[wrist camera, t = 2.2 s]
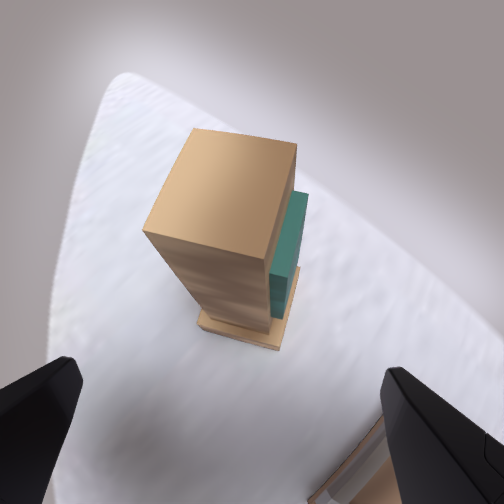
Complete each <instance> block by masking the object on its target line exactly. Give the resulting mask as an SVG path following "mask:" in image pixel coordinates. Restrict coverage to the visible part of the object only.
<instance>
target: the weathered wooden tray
mask: <svg viewBox="0 0 504 504" xmlns="http://www.w3.org/2000/svg"><path fill="white" fill-rule="evenodd" d="M308 504H402V502H401V498H400V493H399V489H398V485H397V480H396V476H395V472H394V468H393V464H392V460H391V456H390V452H389V448H388V444H387V438H386V431H385V424H384V417H383V415H382V416H381V418H380V419H379V420H378V422H377V423H376V424H375V425H374V427H373V428H372V429H371V431H370V432H369V433H368V434H367V436H366V437H365V438H364V439H363V441H362V442H361V443H360V444H359V445H358V447H357V448H356V449H355V450H354V451H353V453H352V454H351V455H350V456H349V457H348V458H347V460H346V461H345V462H344V463H343V464H342V465H341V466H340V467H339V469H338V470H337V471H336V472H335V473H334V474H333V475H332V476H331V477H330V478H329V479H328V480H327V482H326V483H325V484H324V485H323V486H322V487H321V488H320V489H319V490H318V491H317V492H316V493H315V494H314V495H313V496H312V497H311V498H310V499H309V500H308Z"/></svg>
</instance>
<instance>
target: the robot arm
mask: <svg viewBox="0 0 504 504" xmlns="http://www.w3.org/2000/svg"><path fill="white" fill-rule="evenodd" d="M82 386H83V378H82V375H81V373H80V370H79V368H78V366H77V363H76V361H75V360H74V358H71V357H66V356H61V357H59V358H58V359H56V360H54V361H52V362H50V363H48V364H46V365H45V366H43V367H41V368H39V369H37V370H35V371H34V372H32V373H30V374H28V375H26V376H24V377H22V378H20V379H19V380H17V381H15V382H13V383H11V384H9V385H7V386H6V387H4V388H2V389H0V504H42V502H43V498H44V495H45V492H46V489H47V486H48V484H49V481H50V478H51V475H52V472H53V469H54V467H55V464H56V461H57V459H58V456H59V453H60V451H61V448H62V445H63V443H64V440H65V438H66V435H67V433H68V430H69V428H70V425H71V422H72V419H73V415H74V412H75V408H76V405H77V402H78V398H79V395H80V392H81V389H82ZM380 398H381V404H382V411H383V417H384V424H385V431H386V438H387V444H388V448H389V452H390V456H391V460H392V464H393V468H394V472H395V476H396V480H397V485H398V489H399V493H400V498H401V502H402V504H504V445H503V444H501V443H500V442H498V441H497V440H496V439H494V438H493V437H492V436H491V435H489V434H488V433H486V432H485V431H484V430H483V429H481V428H480V427H479V426H477V425H476V424H475V423H474V422H472V421H471V420H470V419H468V418H467V417H466V416H465V415H463V414H462V413H461V412H459V411H458V410H457V409H456V408H454V407H453V406H452V405H450V404H449V403H448V402H447V401H445V400H444V399H443V398H441V397H440V396H439V395H437V394H436V393H435V392H434V391H432V390H431V389H430V388H428V387H427V386H426V385H425V384H423V383H422V382H421V381H419V380H418V379H417V378H416V377H414V376H413V375H412V374H410V373H409V372H408V371H406V370H405V369H404V368H402V367H392V368H388V369H387V370H386V372H385V376H384V379H383V383H382V386H381V390H380Z"/></svg>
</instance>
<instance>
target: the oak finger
mask: <svg viewBox="0 0 504 504" xmlns="http://www.w3.org/2000/svg"><path fill="white" fill-rule="evenodd" d="M296 151H297V144H295V143H290V142H284V141H279V140H272V139H267V138H261V137H255V136H249V135H242V134H235V133H228V132H221V131H213V130H205V129H196V128H193V130H192V132H191V133H190V135H189V137H188V139H187V141H186V143H185V144H184V146H183V148H182V150H181V152H180V154H179V156H178V157H177V159H176V161H175V163H174V165H173V167H172V169H171V171H170V173H169V175H168V177H167V179H166V181H165V183H164V185H163V187H162V189H161V191H160V193H159V195H158V197H157V199H156V201H155V203H154V205H153V207H152V209H151V212H150V214H149V216H148V218H147V220H146V222H145V224H144V227H143V229H142V231H143V232H144V233H145V235H146V236H147V237H148V239H149V240H150V242H151V243H152V244H153V246H154V247H155V248H156V250H157V251H158V252H159V254H160V255H161V256H162V258H163V259H164V260H165V262H166V263H167V264H168V265H169V267H170V268H171V269H172V271H173V272H174V273H175V275H176V276H177V277H178V278H179V280H180V281H181V282H182V284H183V285H184V286H185V287H186V289H187V290H188V291H189V292H190V294H191V295H192V296H193V298H194V299H195V300H196V301H197V303H198V304H199V305H200V306H201V308H202V309H201V312H200V315H199V318H198V321H197V325H199V326H200V327H201V328H202V329H203V330H205V331H208V332H212V333H215V334H218V335H222V336H225V337H229V338H232V339H236V340H239V341H243V342H247V343H250V344H254V345H258V346H261V347H265V348H269V349H273V350H277V351H279V349H280V346H281V342H282V338H283V335H284V331H285V327H286V323H287V320H288V316H289V312H290V308H291V304H292V301H293V297H294V293H295V289H296V285H297V281H298V276H299V271H300V267H298V266H297V263H298V258H299V252H300V246H301V240H302V234H303V227H304V221H305V215H306V208H307V202H308V195H309V194H307V193H302V192H298V191H294V180H295V167H296Z"/></svg>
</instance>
